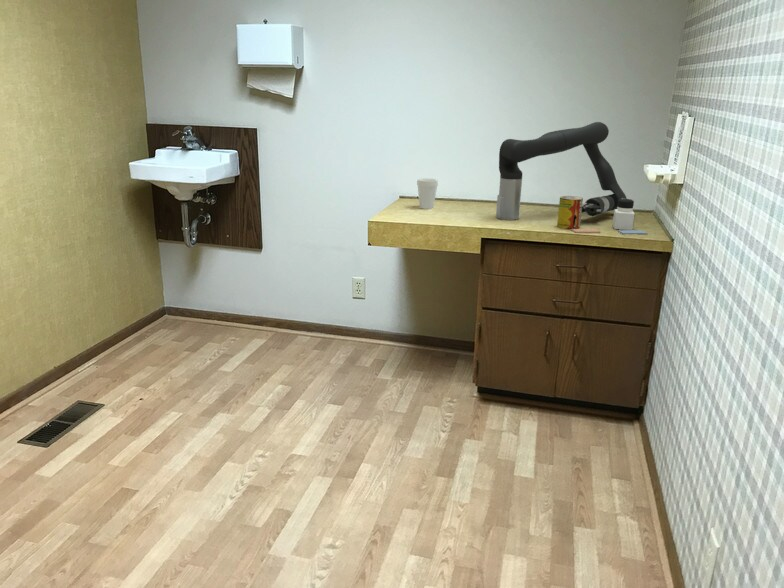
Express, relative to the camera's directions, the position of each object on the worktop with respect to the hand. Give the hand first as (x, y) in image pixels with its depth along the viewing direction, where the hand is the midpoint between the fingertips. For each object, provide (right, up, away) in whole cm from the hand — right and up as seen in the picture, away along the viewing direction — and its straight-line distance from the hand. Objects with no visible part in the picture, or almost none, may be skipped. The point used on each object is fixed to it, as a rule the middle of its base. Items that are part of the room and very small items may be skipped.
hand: (576, 210), depth 264 cm
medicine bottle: (+18, -8, -2) cm, 20 cm away
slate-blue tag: (+19, -10, -11) cm, 24 cm away
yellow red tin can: (-4, -7, -2) cm, 8 cm away
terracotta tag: (+1, -10, -10) cm, 14 cm away
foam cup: (-60, +5, +33) cm, 69 cm away
